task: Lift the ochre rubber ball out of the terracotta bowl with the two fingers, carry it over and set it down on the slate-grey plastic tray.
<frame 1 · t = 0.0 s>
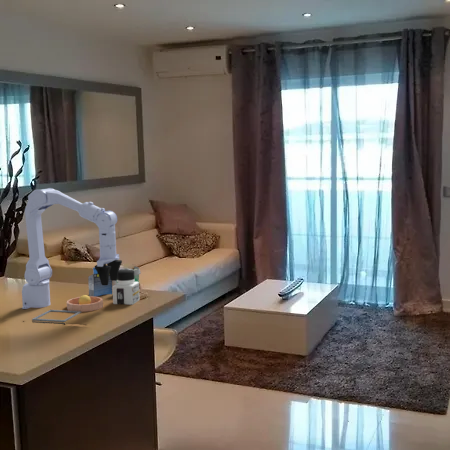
hand: (109, 282, 218), 10 cm above the worktop, tool pointing down, fingers open, 7 cm apart
container: (126, 304, 228), on the worktop
tray: (57, 318, 210), on the worktop
food container: (131, 294, 244), on the worktop
ball: (85, 307, 222), point 1 cm above the worktop, touching bowl
label tape box: (101, 296, 242), on the worktop
bowl: (85, 309, 222), on the worktop
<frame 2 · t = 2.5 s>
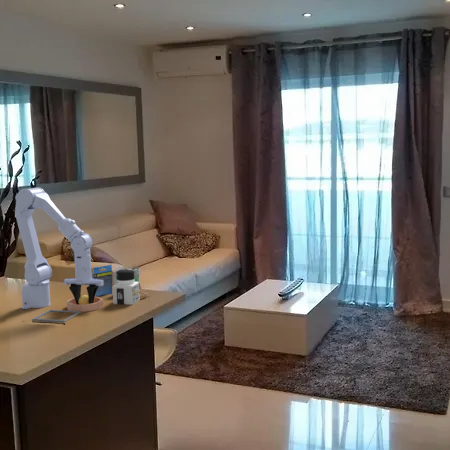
hand: (84, 304, 221), 2 cm above the worktop, tool pointing down, fingers closed on ball, 4 cm apart
ball: (85, 307, 222), point 1 cm above the worktop, touching bowl, gripper
everything else where it was.
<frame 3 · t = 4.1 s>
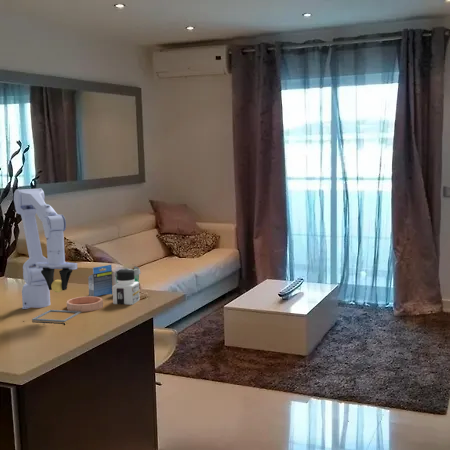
hand: (57, 289, 210), 10 cm above the worktop, tool pointing down, fingers closed on ball, 4 cm apart
ball: (58, 292, 210), point 9 cm above the worktop, touching gripper
everything else where it was.
when the fingers open (2 cm above the worktop, at t = 5.8 s): ball stays where it is, resting on tray.
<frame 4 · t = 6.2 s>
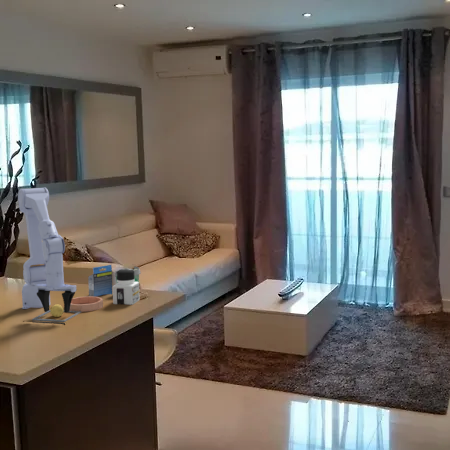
hand: (56, 311, 210), 2 cm above the worktop, tool pointing down, fingers open, 7 cm apart
ball: (57, 316, 210), resting on tray
everything else where it was.
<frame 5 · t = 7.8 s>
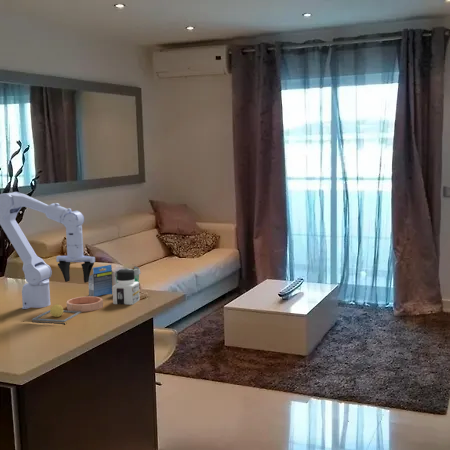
hand: (76, 281, 222), 10 cm above the worktop, tool pointing down, fingers open, 7 cm apart
nothing on the worktop moved.
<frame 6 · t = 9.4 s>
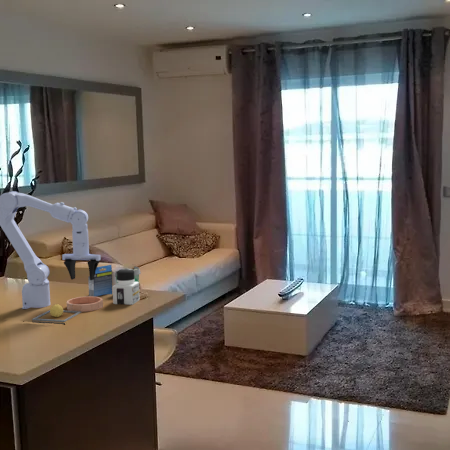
hand: (82, 279, 226), 10 cm above the worktop, tool pointing down, fingers open, 7 cm apart
nothing on the worktop moved.
at the end: ball inside the target area on the tray (0.0 cm from its centre), point 0.5 cm above the tray's base; the gripper is holding nothing; ball touching tray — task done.
